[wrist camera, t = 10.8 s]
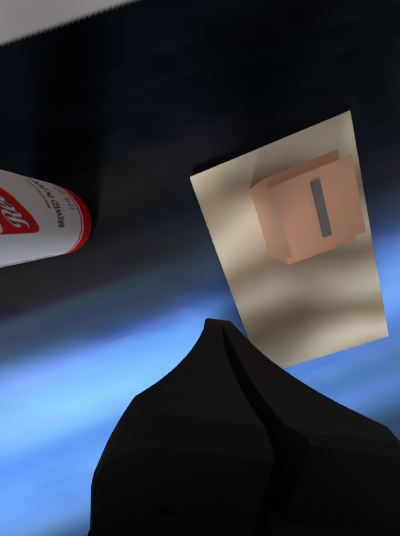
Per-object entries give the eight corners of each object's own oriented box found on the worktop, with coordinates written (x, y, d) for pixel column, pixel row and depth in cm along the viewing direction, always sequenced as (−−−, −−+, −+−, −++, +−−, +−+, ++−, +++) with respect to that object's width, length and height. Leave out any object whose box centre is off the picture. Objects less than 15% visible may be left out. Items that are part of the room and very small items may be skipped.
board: (378, 329, 21) (421, 355, 17) (258, 367, 22) (271, 399, 18) (339, 118, 16) (385, 83, 12) (190, 180, 17) (187, 166, 13)
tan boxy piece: (321, 237, 17) (370, 242, 12) (269, 255, 18) (296, 268, 13) (304, 167, 16) (352, 140, 11) (249, 189, 17) (270, 174, 11)
